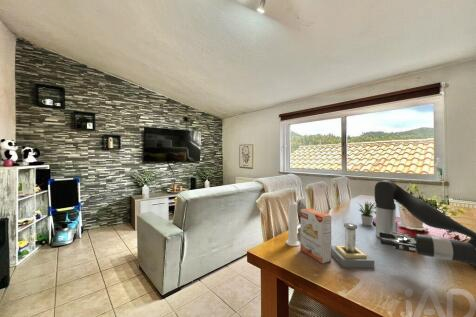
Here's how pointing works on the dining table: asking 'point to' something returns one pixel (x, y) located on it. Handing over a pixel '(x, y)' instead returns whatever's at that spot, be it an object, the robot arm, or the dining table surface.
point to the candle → (292, 224)
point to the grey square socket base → (351, 257)
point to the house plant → (367, 214)
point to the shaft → (350, 237)
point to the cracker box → (316, 234)
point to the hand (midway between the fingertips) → (379, 237)
